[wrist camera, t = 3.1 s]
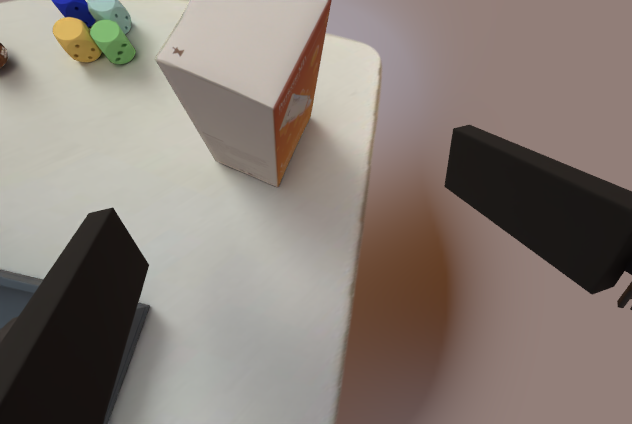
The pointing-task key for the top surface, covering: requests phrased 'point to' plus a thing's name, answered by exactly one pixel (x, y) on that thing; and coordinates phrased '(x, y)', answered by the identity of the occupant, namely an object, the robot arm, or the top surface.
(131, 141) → the top surface
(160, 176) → the top surface
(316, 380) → the top surface
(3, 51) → the chocolate
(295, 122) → the small box
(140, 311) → the tray
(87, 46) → the dice
